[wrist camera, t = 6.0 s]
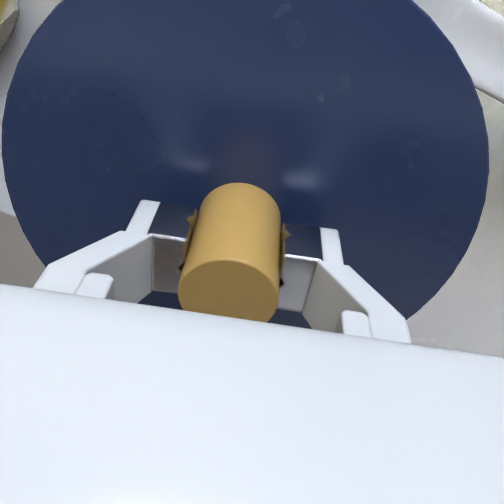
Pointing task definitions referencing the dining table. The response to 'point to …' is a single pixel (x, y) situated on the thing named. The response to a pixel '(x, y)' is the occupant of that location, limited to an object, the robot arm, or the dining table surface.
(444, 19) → the spoon rest
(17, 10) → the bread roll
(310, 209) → the tin lid
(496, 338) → the dining table surface
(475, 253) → the dining table surface
